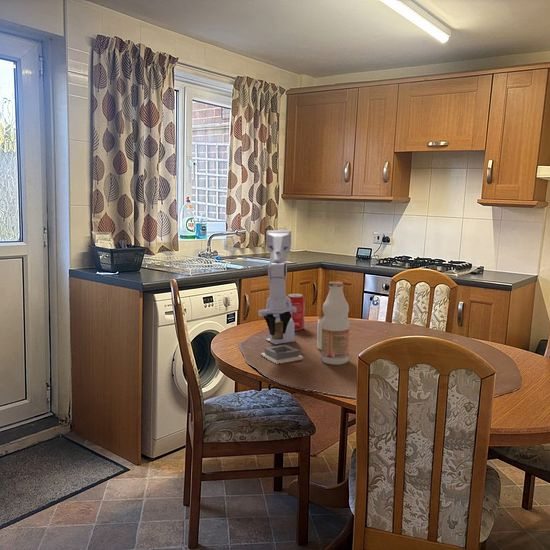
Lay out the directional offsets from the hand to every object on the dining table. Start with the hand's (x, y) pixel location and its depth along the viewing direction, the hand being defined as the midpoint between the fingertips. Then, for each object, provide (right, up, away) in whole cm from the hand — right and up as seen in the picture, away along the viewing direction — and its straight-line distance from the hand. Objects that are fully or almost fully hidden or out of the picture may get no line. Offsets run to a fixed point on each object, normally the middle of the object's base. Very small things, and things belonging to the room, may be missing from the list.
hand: (277, 333), depth 192 cm
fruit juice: (+20, -9, -3) cm, 22 cm away
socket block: (+1, -9, +1) cm, 9 cm away
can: (+18, -7, +12) cm, 23 cm away
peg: (0, -2, 0) cm, 2 cm away
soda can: (+8, -3, +41) cm, 42 cm away
